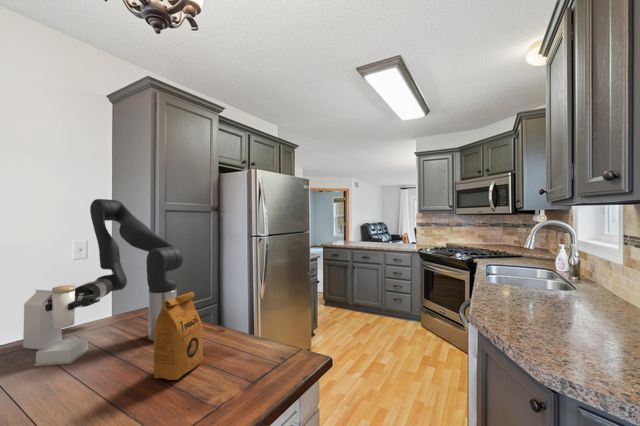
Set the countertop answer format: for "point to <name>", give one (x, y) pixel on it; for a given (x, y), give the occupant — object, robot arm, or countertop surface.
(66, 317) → the jar
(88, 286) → the robot arm
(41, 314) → the milk carton
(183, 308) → the coffee package
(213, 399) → the countertop surface
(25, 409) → the countertop surface
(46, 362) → the riser
